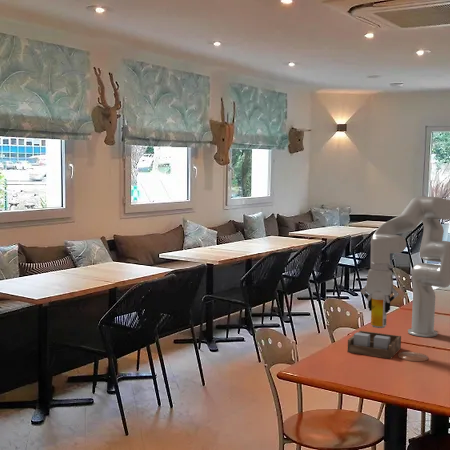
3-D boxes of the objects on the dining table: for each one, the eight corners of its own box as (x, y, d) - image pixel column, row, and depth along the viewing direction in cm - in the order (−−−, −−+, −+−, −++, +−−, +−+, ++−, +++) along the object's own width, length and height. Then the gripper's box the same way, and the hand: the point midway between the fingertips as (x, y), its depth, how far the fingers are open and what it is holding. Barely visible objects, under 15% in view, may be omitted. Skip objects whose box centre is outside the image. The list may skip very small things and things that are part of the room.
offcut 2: (375, 352, 247) (376, 335, 247) (389, 354, 245) (390, 336, 244) (373, 354, 244) (373, 337, 243) (387, 356, 241) (388, 339, 241)
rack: (359, 342, 261) (360, 330, 261) (400, 348, 253) (401, 336, 253) (347, 352, 247) (347, 339, 246) (390, 358, 239) (391, 345, 238)
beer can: (375, 323, 257) (375, 288, 256) (388, 326, 253) (389, 290, 252) (368, 326, 253) (369, 290, 251) (382, 329, 249) (383, 292, 247)
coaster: (401, 351, 248) (401, 350, 248) (430, 355, 243) (430, 354, 243) (395, 358, 239) (395, 357, 239) (424, 363, 234) (424, 361, 233)
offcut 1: (356, 349, 251) (356, 332, 250) (369, 351, 248) (370, 334, 248) (353, 351, 248) (353, 334, 247) (366, 353, 245) (367, 336, 244)
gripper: (403, 267, 250) (402, 311, 252) (361, 264, 258) (360, 306, 260) (399, 270, 243) (398, 315, 245) (356, 266, 251) (355, 310, 253)
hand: (378, 310), depth 252 cm, fingers closed on beer can, 5 cm apart
